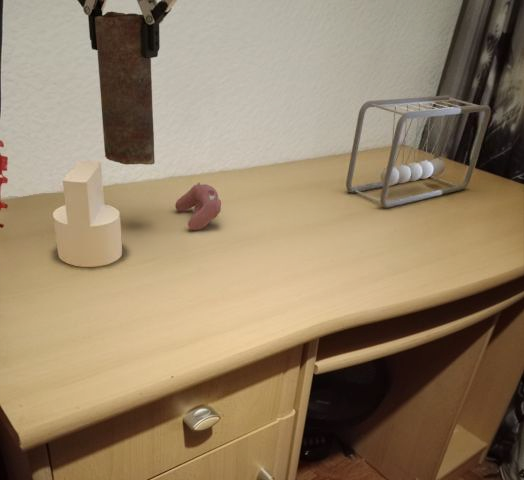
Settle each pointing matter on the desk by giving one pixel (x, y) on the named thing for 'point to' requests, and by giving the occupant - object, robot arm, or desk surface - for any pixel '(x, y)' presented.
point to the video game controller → (200, 205)
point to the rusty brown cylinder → (125, 89)
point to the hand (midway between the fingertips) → (124, 52)
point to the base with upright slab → (87, 220)
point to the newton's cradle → (424, 167)
